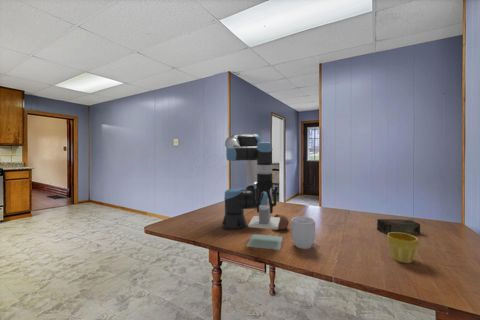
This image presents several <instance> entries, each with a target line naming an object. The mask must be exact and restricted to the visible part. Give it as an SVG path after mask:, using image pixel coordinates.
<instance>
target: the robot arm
mask: <svg viewBox="0 0 480 320" xmlns="http://www.w3.org/2000/svg"><path fill="white" fill-rule="evenodd" d="M224 147H225V148H226V150H225V154H226V161H232V162H235V161H236V162H237V161H239V162H240V161H245V168H246V177H247V179H246V180H247V185H246V186H245V189H244V188H243V187H232V188H229V189H227V190H225V191H224V198H223V199H224V215H223V219H222V223H221V226H222V229H223V230H226V231H239V230H243V229H246V228H247V227H248V223H247V220H246V216H245V214H244V213H245V210H256V212H257V213H258V214H259V209H260V208H261V206H262V205H270V206H269V207H268V220H270V219H271V217H272V214H273V212H274V211H273V210H274V209H273V208H274V207H276V206H277V199H278V198H277V197H278V194H277V193H278V192H277V191H278V188H279V186H278V185H275V184H274V183H273V144H272V142H270V141H261V138H260V136H259V135H258V133H250V134H249V133H238V134H237V133H236V134H235V133H234V134H232V135H229V136H228V137H227V138H226V139H225V142H224ZM272 189H273V199H272V195H271V190H272ZM268 203H269V204H268Z"/></svg>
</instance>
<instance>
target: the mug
mask: <svg viewBox="0 0 480 320" xmlns="http://www.w3.org/2000/svg"><path fill="white" fill-rule="evenodd" d="M290 223H291V224H290V225H291V226H290V229H291V230H290V231H291V232H290V233H291V238H292V241H293V244H294V245H295V247H296V248H298V249H300V250H301V249H302V250H309V249H311V247H312V246H313V244H314V241H315V237H316V220H315V218H313V217H310V216H294V217H292V218H291V221H290Z"/></svg>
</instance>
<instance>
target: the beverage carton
mask: <svg viewBox="0 0 480 320" xmlns="http://www.w3.org/2000/svg"><path fill="white" fill-rule="evenodd" d="M376 220H377V221H376V229H377V230H378V231H380V232H381V233H382V234H384V235H387V234H388V233H391V232H400V233H406V234H410V235H420V234H421V224H420V223H419V222H417V221H414V220H413V219H396V218H395V219H394V218H393V219H391V218H390V219H388V218H387V219H386V218H380V219H379V218H377V219H376Z"/></svg>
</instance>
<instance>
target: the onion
mask: <svg viewBox="0 0 480 320" xmlns="http://www.w3.org/2000/svg"><path fill="white" fill-rule="evenodd" d="M273 217H278V218H280V222H279V226H278V231H284V230H286V229H288V227H289V223H290V221H289V218H288V216H287V215H285V214H278V213H277V214H274V216H273Z"/></svg>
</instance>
